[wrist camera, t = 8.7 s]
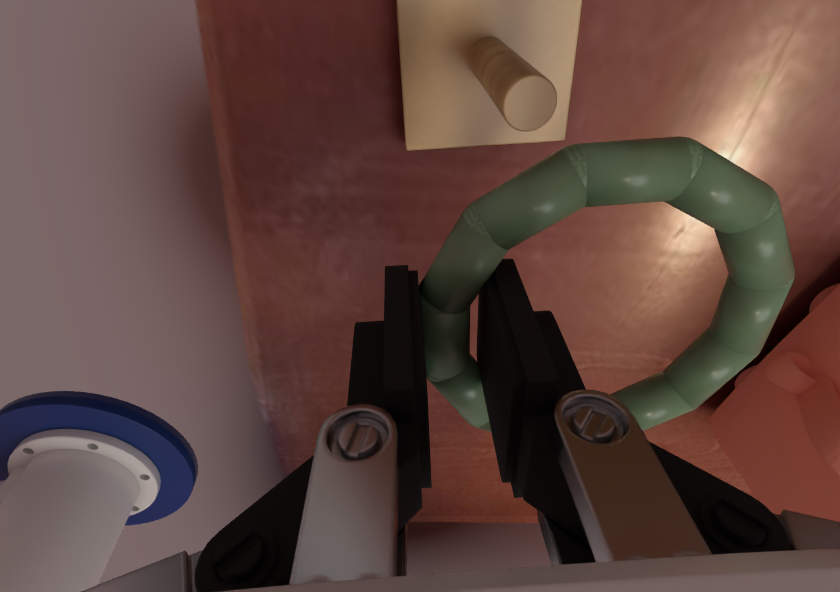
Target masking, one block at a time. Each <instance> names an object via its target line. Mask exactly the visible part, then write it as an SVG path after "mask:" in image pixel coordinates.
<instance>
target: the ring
mask: <svg viewBox="0 0 840 592" xmlns="http://www.w3.org/2000/svg"><path fill="white" fill-rule="evenodd" d="M662 201H664V202H666V203H668V204H670V205H671V206H673V207H675V208H677V209H679V210H681V211H683V212H684V213H686V214H688V215H690V216H692V217H694V218H696V219H697V220H699V221H701V222H703V223H705V224H707V225H708V226H710V227H712V228H714V230H715V233H716V236H717V239H718V242H719V245H720V248H721V251H722V254H723V257H724V260H725V263H726V266H727V269H728V272H729V275H728V278H727V280H726V283H725V286H724V288H723V291H722V294H721V297H720V299H719V302H718V305H717V307H716V310H715V313H714V316H713V318H712V321H711V324H710V326H709V327H708V328H707V329H706V330H705V331H704V332H703V333H702V334H701V335H700V336H699V337H698V338H697V339H696V340H695V341H694V342H693V343H692V344H691V345H690V346H689V347H688V348H687V349H686V350H684V351H683V352H682V353H681V354H680V355H679V356H678V357H677V358H676V359H675V360H674V361H673V362H672V363H671V364H670V365H669V366H668V367H667V368H666V369H665V370H664V371H662V372H659V373H657V374H655V375H653V376H650V377H648V378H646V379H644V380H641V381H639V382H637V383H635V384H632V385H630V386H628V387H626V388H623V389H621V390H619V391H617V392H614V393H612V394H610V395H611V396H613V397H615V398H617V399H618V400H620V401H621V402H622V403H624V404H625V405H626V406H627V407H628V408H629V410H630V411H631V412H632V414H633V415H634V417H635V418H636V420H637V422H638V424H639V425H640V427H641V429H642V431H644V430H647V429H649V428H652V427H654V426H656V425H659V424H661V423H664V422H666V421H669V420H671V419H673V418H676V417H678V416H681V415H683V414H685V413H688V412H690V411H693V410H695V409H696V408H698V407H699V406H700V405H701V404H702V403H703V402H705V401H706V400H707V399H708V398H709V397H710V396H712V395H713V394H714V393H715V392H716V391H717V390H718V389H720V388H721V387H722V386H723V385H724V384H725V383H727V382H728V381H729V380H730V379H731V378H732V377H733V376H735V375H736V374H737V373H738V372H739V371H740V370H742V369H743V368H744V367H745V366H746V365H747V364H749V363H750V362H751V361H752V360H753V359H754V358H755V357H757V356H758V354H759V353H760V352H761V350H762V348H763V346H764V344H765V342H766V340H767V338H768V335H769V333H770V331H771V329H772V327H773V325H774V322H775V320H776V318H777V316H778V314H779V312H780V310H781V307H782V305H783V303H784V301H785V299H786V297H787V294H788V292H789V290H790V288H791V286H792V284H793V281H794V278H795V268H794V263H793V259H792V254H791V250H790V246H789V241H788V237H787V232H786V228H785V224H784V219H783V215H782V210H781V206H780V202H779V198H778V195H777V194H776V192H775V191H774V189H773V188H772V187H771V186H769V185H768V184H767V183H765V182H763V181H762V180H760V179H759V178H757V177H755V176H754V175H752V174H750V173H749V172H747V171H745V170H744V169H742V168H740V167H739V166H737V165H735V164H734V163H732V162H731V161H729V160H727V159H726V158H724V157H722V156H721V155H719V154H717V153H716V152H714V151H712V150H711V149H709V148H707V147H706V146H704V145H703V144H701V143H699V142H698V141H696V140H693V139H691V138H687V137H666V138H652V139H638V140H624V141H610V142H595V143H581V144H572V145H568V146H565V147H563V148H561V149H560V150H558V151H556V152H555V153H553V154H551V155H550V156H548V157H546V158H545V159H543V160H541V161H540V162H538V163H536V164H535V165H533V166H531V167H530V168H528V169H527V170H525V171H523V172H522V173H520V174H518V175H517V176H515V177H513V178H512V179H510V180H508V181H507V182H505V183H503V184H502V185H500V186H498V187H497V188H495V189H493V190H492V191H490V192H489V193H487V194H485V195H484V196H482V197H480V198H479V199H477V200H475V201H474V202H472V203H471V204H470V205H468V206H467V207H466V209H465V210H464V211H463V213H462V214H461V216H460V218H459V219H458V221H457V223H456V225H455V226H454V228H453V230H452V231H451V233H450V235H449V236H448V238H447V240H446V241H445V243H444V245H443V246H442V248H441V250H440V251H439V253H438V255H437V256H436V258H435V260H434V261H433V263H432V265H431V266H430V268H429V270H428V271H427V273H426V275H425V276H424V278H423V280H422V281H421V283H420V285H419V297H420V309H421V321H422V333H423V345H424V357H425V369H426V378H427V379H428V380H429V381H430V382H431V383H432V384H433V385H434V386H435V387H436V389H437V390H438V391H439V392H440V393H441V394H442V395H443V396H444V397H445V398H446V399H447V400H448V402H449V403H450V404H451V405H452V406H453V407H454V408H455V409H456V410H457V411H458V412H459V414H460V415H461V416H462V417H463V418H464V419H465V420H466V421H467V422H468V423H469V424H470V425H472V426H474V427H477V428H480V429H483V430H486V431H489V432H491V427H490V422H489V417H488V412H487V407H486V403H485V398H484V393H483V388H482V383H481V375H480V368H479V364H478V363H477V362H476V360H475V359H474V358H473V357H472V355H471V354H470V305H471V304H472V302H473V301H474V299H475V298H476V297H477V295H478V294H479V292H480V291H481V289H482V288H483V286H484V285H485V283H486V281H487V280H488V279H489V278H490V276H491V275H492V273H493V272H494V270H495V269H496V267H497V266H498V264H499V263H500V261H501V260H502V259H503V257H504V256H505V254H506V253H507V251H508V250H509V249H511V248H512V247H514V246H516V245H518V244H519V243H521V242H523V241H525V240H527V239H528V238H530V237H532V236H534V235H535V234H537V233H539V232H541V231H543V230H544V229H546V228H548V227H550V226H552V225H553V224H555V223H557V222H559V221H560V220H562V219H564V218H566V217H568V216H569V215H571V214H573V213H575V212H576V211H578V210H580V209H582V208H584V207H593V206H607V205H621V204H634V203H648V202H662Z"/></svg>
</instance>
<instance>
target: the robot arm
mask: <svg viewBox="0 0 840 592" xmlns="http://www.w3.org/2000/svg"><path fill="white" fill-rule="evenodd" d="M477 363H478V364H479V368H480V375H481V383H482V388H483V393H484V398H485V403H486V407H487V412H488V417H489V422H490V427H491V432H492V436H493V441H494V446H495V451H496V456H497V461H498V466H499V470H500V475H501V479H502V482H503V483H506V482H511V485H512V490H513V494H514V498H518V497H523V499H524V501H526V502H527V503H529V504H530V505H532V506H533V507H534V508H536V509H537V514H538V521H539V524H540V527H541V531H542V534H543V537H544V541H545V544H546V548H547V551H548V555H549V558H550V561H551V566H537V567H522V568H508V569H494V570H480V571H467V572H452V573H438V574H425V575H412V576H407V523H408V522H409V521H410V519H411V518H412V517H413V516H414V515H415V514H416V513H417V512H418V511H419V510H420V509H421V508H422V491H421V488H432V486H431V463H430V441H429V419H428V397H427V381H426V369H425V357H424V345H423V333H422V321H421V309H420V297H419V285H418V273H417V270H416V271H408V265H398V266H385V301H384V321H373V322H357V323H355V328H354V338H353V349H352V360H351V370H350V381H349V392H348V403H347V407H344V408H342V409H339V410H337V411H336V412H335V413H333V414H332V415H331V416H329V417H328V418H327V420H326V421H325V422H324V423H323V424H322V426H321V428H320V431H319V434H318V437H317V442H316V448H315V453H314V455H313V456H312V457H311V458H310V459H308V460H307V461H306V462H305V463H303V464H302V465H301V466H300V467H298V468H297V469H296V470H295V471H293V472H292V473H291V474H290V475H289V476H287V477H286V478H285V479H284V480H282V481H281V482H280V483H279V484H277V485H276V486H275V487H274V488H272V489H271V490H270V491H269V492H268V493H266V494H265V495H264V496H263V497H262V498H260V499H259V500H258V501H256V502H255V503H254V504H253V505H251V506H250V507H249V508H248V509H247V510H245V511H244V512H243V513H241V514H240V515H239V516H238V517H236V518H235V519H234V520H233V521H231V522H230V523H229V524H228V525H227V526H225V527H224V528H223V529H222V530H220V531H219V532H218V533H217V534H216V535H215V536H214V537H213V538H212V539H211V540H210V541H209V542H208V543H207V545H206V547H205V548H204V550H202V551H199V552H197V553H195V554H192V555H190V556H188V554H187V552H186V551H183V552H181V553H178V554H176V555H173V556H170V557H168V558H165V559H163V560H160V561H158V562H155V563H153V564H150V565H148V566H145V567H142V568H140V569H137V570H135V571H132V572H129V573H127V574H124V575H122V576H119V577H117V578H114V579H112V580H109V581H107V582H104V583H102V584H99V585H98V583H99V580H100V578H101V576H102V574H103V572H104V569H105V567H106V565H107V563H108V561H109V558H110V556H111V554H112V552H113V550H114V547H115V545H116V543H117V541H118V539H119V537H120V534H121V532H122V530H123V528H124V526H125V523H126V521H127V519H128V517H129V516H130V515H134V514H136V513H139V512H141V511H143V510H145V509H146V508H147V507H149V506H150V505H151V504H152V503H153V502H154V500H155V499H156V496H157V494H158V492H159V490H160V485H161V478H160V473H159V471H158V469H157V467H156V466H155V465H154V463H153V462H152V461H151V460H150V459H149V458H148V457H147V456H146V455H145V454H144V453H143V452H141V451H140V450H139V449H137V448H135V447H134V446H132V445H130V444H129V443H126V442H124V441H122V440H120V439H118V438H115V437H112V436H109V435H106V434H103V433H98V432H94V431H89V430H80V429H55V430H47V431H43V432H39V433H36V434H33V435H31V436H29V437H27V438H26V439H24V440H23V441H22V442H21V443H20V444H19V445H18V446H17V447H16V448H15V450H14V451H13V453H12V454H11V455H10V457H9V461H8V472H9V476H8V478H7V479H6V480H2V481H0V592H840V522H837V521H833V520H828V519H824V518H820V517H815V516H811V515H806V514H802V513H798V512H793V511H789V510H784V509H783V511H782V512H781V514H780V515H779V514H774V513H772V512H771V511H770V510H769V509H768V508H767V507H766V506H765V505H764V504H762V503H761V502H759V501H758V500H756V499H755V498H753V497H752V496H750V495H748V494H747V493H745V492H743V491H741V490H739V489H737V488H735V487H733V486H732V485H730V484H728V483H726V482H724V481H722V480H720V479H718V478H716V477H715V476H713V475H711V474H709V473H707V472H705V471H703V470H701V469H700V468H698V467H696V466H694V465H692V464H690V463H688V462H686V461H685V460H683V459H681V458H679V457H677V456H675V455H673V454H671V453H670V452H668V451H666V450H664V449H662V448H660V447H658V446H656V445H655V444H653V443H651V442H649V441H648V440H647V438H646V436H645V434H644V433H643V431H642V429H641V427H640V425H639V424H638V422H637V420H636V418H635V417H634V415H633V414H632V412H631V411H630V410H629V408H628V407H627V406H626V405H625V404H624V403H622V402H621V401H620V400H618V399H617V398H615V397H613V396H611V395H609V394H607V393H604V392H600V391H596V390H586V389H585V386H584V384H583V382H582V379H581V377H580V375H579V373H578V370H577V368H576V366H575V363H574V361H573V359H572V357H571V354H570V352H569V350H568V347H567V345H566V343H565V341H564V338H563V336H562V334H561V332H560V329H559V327H558V325H557V322H556V320H555V318H554V316H553V314H552V312H550V311H534V312H533V309H532V306H531V304H530V301H529V299H528V296H527V293H526V291H525V288H524V286H523V283H522V281H521V278H520V275H519V273H518V270H517V268H516V265H515V263H514V260H513V259H502V260H501V261H500V263H499V264H498V266H497V267H496V269H495V270H494V272H493V273H492V275H491V276H490V278H489V279H488V280H487V281H486V283H485V285H484V286H483V288H482V289H481V291H480V292H479V302H478V330H477Z"/></svg>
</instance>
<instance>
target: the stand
mask: <svg viewBox="0 0 840 592" xmlns="http://www.w3.org/2000/svg"><path fill="white" fill-rule="evenodd" d="M396 7H397V22H398V38H399V54H400V69H401V85H402V101H403V116H404V132H405V146H406V150H407V151H408V150H424V149H440V148H455V147H471V146H487V145H503V144H519V143H534V142H550V141H564V140H565V135H566V127H567V119H568V111H569V103H570V95H571V87H572V79H573V71H574V63H575V55H576V47H577V39H578V31H579V23H580V15H581V7H582V0H396Z"/></svg>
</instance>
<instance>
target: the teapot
mask: <svg viewBox="0 0 840 592" xmlns="http://www.w3.org/2000/svg"><path fill="white" fill-rule="evenodd" d="M735 388H736V389H735V390H734V391H733V392H732V393H731V394H730V395H729V396H728V397H727V398H726V399H725V400H724V402H723V403H722V404H721V405H720V406H719V407H718V408H717V409H716V410H715V412H714V413H713V414H712V415H711V417H710V418H709V424H710V426H711V428H712V430H713V432H714V434H715V436H716V437H717V439H718V441H719V443H720V445H721V446H722V448H723V450H724V451H725V453H726V454H727V456H728V457H729V459H730V460H731V462H732V463H733V465H734V466H735V467H736V469H737V470H738V472H739V473H740V474H741V476H742V477H743V479H744V480H745V481H746V483H747V484H748V486H749V487H750V488H751V490H752V491H753V493H754V494H755V495H756V497H757V498H758V499H759V501H760V502H761V503H762V504H764V505H765V506H766V507H767V508H768V509H769V510H770V511H771V512H772V513H774V514H779V515H780V514H781V512H782V511H783V509H784V510H789V511H793V512H798V513H802V514H806V515H811V516H815V517H820V518H824V519H828V520H833V521H837V522H840V283H839V284H835V285H833V286H830V287H828V288H826V289H825V290H823V291H822V292H820V293H819V294H818V295H817V296H816V297H815V298H814V299H813V301H812V302H811V304H810V307H809V314H808V315H807V316H806V317H805V318H804V319H803V320H802V321H801V322H800V323H799V324H798V325H797V326H796V327H795V328H794V329H793V330H792V331H791V332H790V333H789V334H788V335H787V336H786V337H785V338H784V339H783V340H782V341H781V342H780V343H779V344H778V345H777V346H776V347H775V348H774V349H773V350H772V351H771V352H770V353H769V354H768V355H767V356H766V357H765V358H764V359H763V360H762V361H761V362H760V363H759V364H758V365H755V366H752V367H750V368H748V369H746V370H745V371H743V372H742V373H741V374H740V375H739V376H738V377H737V379H736V380H735Z"/></svg>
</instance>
